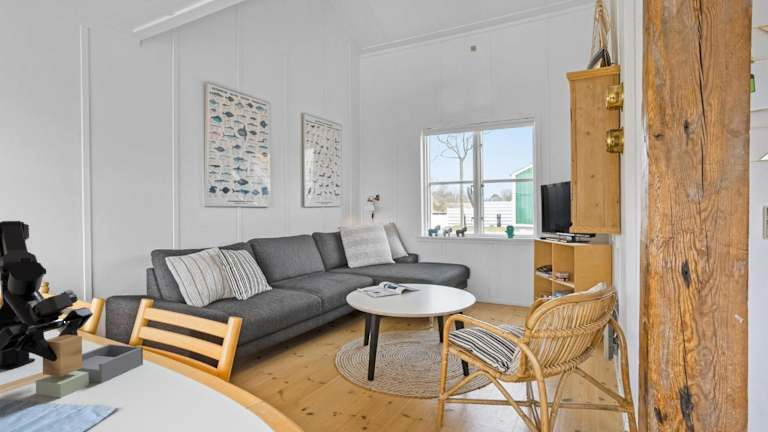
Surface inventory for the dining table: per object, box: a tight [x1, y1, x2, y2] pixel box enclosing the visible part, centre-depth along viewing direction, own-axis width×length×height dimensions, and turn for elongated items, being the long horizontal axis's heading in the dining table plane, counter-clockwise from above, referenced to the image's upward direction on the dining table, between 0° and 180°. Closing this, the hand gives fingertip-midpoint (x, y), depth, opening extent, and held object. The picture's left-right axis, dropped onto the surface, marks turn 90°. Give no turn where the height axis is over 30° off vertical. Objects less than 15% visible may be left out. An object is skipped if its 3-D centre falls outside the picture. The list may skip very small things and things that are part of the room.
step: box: [35, 371, 90, 399], centre depth 93 cm, size 7×6×3 cm
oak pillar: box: [42, 334, 83, 377], centre depth 93 cm, size 5×5×8 cm
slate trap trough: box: [76, 343, 144, 384], centre depth 103 cm, size 11×12×4 cm
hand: (67, 356), depth 92 cm, fingers closed on oak pillar, 5 cm apart
